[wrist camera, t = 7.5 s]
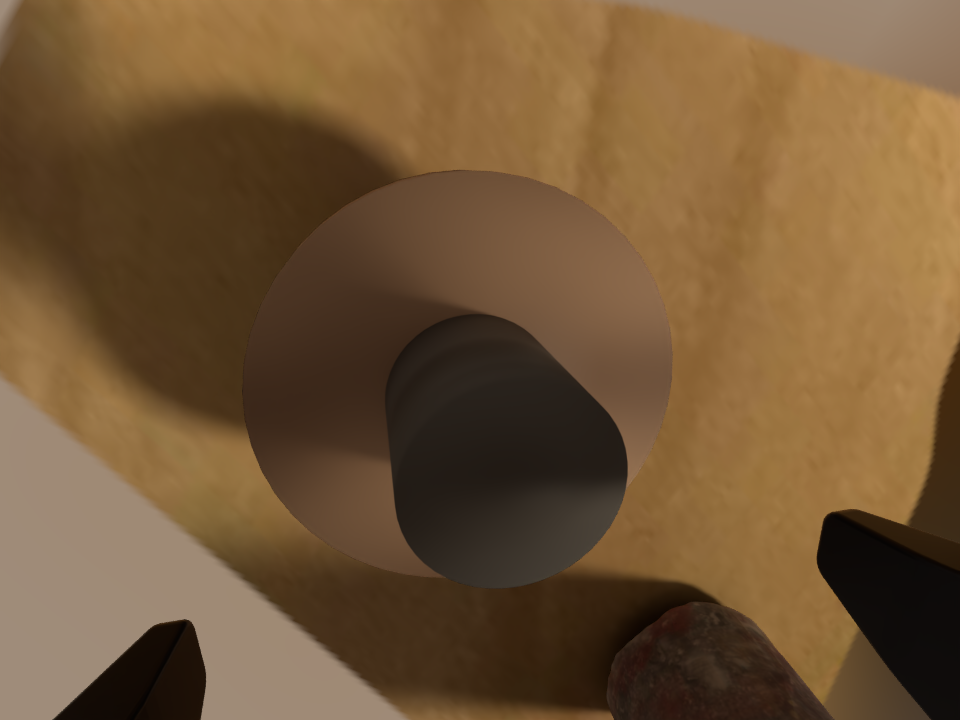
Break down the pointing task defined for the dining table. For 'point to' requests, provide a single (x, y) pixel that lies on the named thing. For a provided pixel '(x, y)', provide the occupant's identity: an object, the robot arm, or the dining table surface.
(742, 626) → the candle
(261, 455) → the lid
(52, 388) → the dining table surface
